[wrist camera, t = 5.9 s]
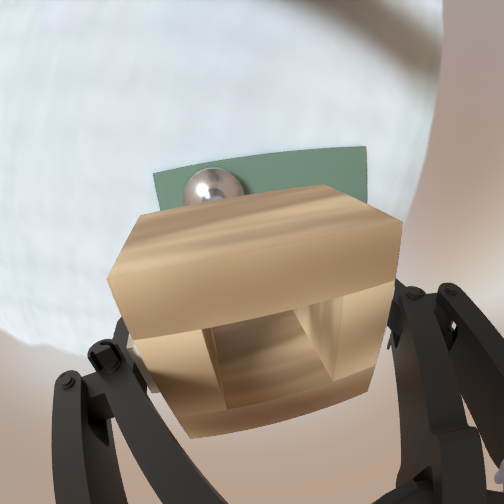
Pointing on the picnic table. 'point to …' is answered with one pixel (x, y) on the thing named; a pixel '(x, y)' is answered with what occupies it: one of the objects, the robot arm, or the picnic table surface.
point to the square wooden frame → (258, 303)
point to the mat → (277, 173)
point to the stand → (211, 186)
